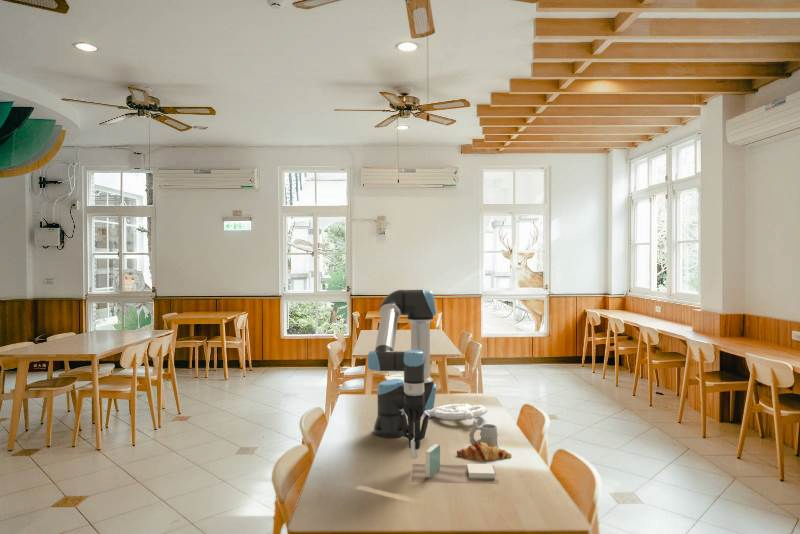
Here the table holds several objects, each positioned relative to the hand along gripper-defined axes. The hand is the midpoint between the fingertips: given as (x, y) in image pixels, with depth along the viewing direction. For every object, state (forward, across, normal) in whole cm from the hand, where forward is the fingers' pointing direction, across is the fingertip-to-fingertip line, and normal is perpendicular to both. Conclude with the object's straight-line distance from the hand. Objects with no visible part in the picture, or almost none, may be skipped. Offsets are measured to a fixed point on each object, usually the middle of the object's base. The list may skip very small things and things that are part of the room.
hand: (414, 457), depth 181 cm
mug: (+6, +15, +32) cm, 36 cm away
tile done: (+4, +23, +7) cm, 24 cm away
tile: (+4, +8, 0) cm, 9 cm away
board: (+6, +14, +3) cm, 16 cm away
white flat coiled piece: (+6, -10, +67) cm, 68 cm away
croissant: (+6, +19, +23) cm, 31 cm away
